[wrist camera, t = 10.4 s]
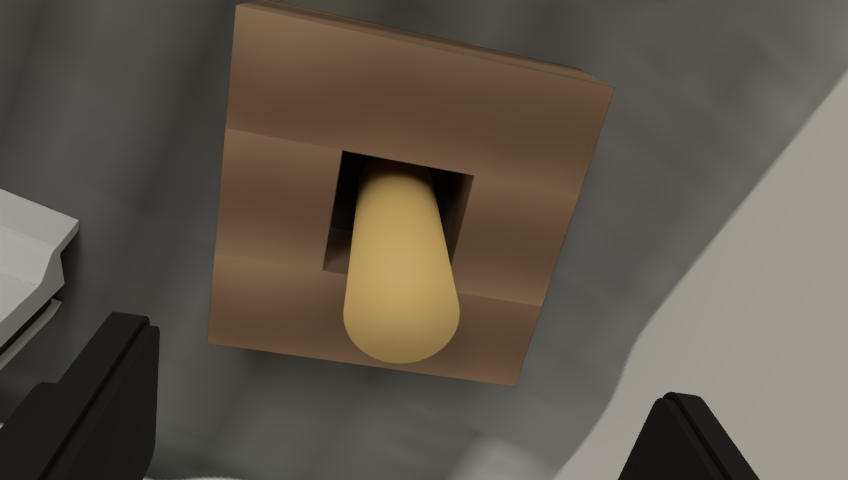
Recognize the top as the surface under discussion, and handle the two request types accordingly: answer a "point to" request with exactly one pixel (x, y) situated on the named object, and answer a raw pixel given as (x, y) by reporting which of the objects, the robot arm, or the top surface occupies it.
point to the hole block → (402, 141)
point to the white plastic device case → (29, 268)
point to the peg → (399, 266)
